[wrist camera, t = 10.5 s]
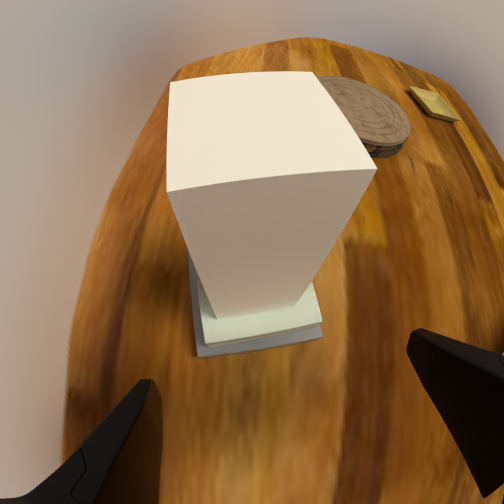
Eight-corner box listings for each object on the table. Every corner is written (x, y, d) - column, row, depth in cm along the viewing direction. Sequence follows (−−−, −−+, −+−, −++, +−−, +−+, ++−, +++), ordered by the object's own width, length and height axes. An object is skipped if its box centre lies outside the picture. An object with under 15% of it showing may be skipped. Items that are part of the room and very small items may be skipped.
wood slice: (419, 140, 34) (427, 126, 31) (362, 177, 29) (372, 159, 26) (343, 84, 39) (347, 70, 36) (272, 105, 34) (274, 87, 31)
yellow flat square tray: (405, 92, 41) (408, 84, 39) (435, 100, 41) (438, 93, 40) (427, 120, 37) (432, 111, 35) (457, 127, 38) (461, 120, 36)
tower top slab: (313, 328, 19) (322, 321, 17) (209, 347, 18) (205, 343, 16) (288, 238, 23) (294, 221, 20) (196, 252, 22) (191, 236, 19)
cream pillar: (295, 305, 17) (377, 168, 6) (217, 319, 17) (166, 192, 6) (278, 237, 20) (312, 72, 8) (206, 248, 19) (170, 82, 8)
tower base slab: (314, 341, 21) (322, 336, 19) (202, 359, 20) (197, 356, 18) (291, 243, 25) (296, 229, 23) (191, 255, 24) (186, 242, 22)
